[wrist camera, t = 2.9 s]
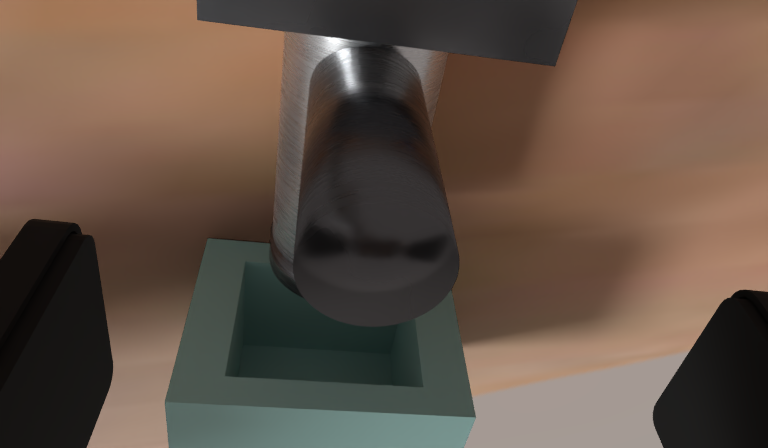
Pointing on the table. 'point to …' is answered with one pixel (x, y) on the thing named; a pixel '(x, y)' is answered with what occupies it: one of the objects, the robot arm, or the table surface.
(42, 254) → the robot arm
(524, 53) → the sleeve
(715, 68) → the table surface
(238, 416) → the socket block
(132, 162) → the table surface
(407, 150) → the slip tube
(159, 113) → the table surface
